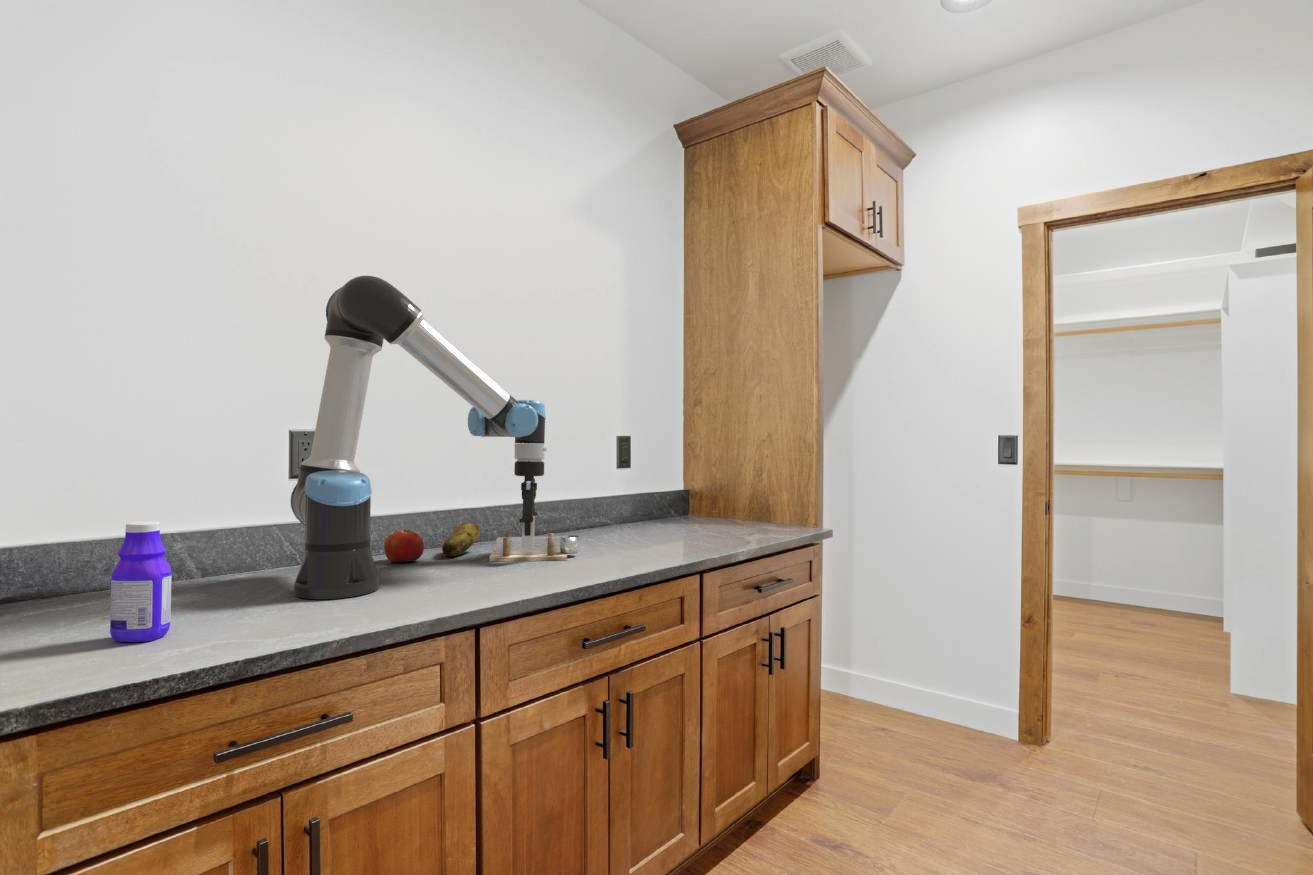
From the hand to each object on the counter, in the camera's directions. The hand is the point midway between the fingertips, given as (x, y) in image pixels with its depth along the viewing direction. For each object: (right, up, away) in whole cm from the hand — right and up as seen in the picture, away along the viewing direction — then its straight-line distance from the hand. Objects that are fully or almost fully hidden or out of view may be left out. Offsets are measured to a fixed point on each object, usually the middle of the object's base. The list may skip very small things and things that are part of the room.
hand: (528, 544), depth 170 cm
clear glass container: (+2, -2, 0) cm, 3 cm away
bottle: (-44, -3, -71) cm, 84 cm away
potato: (-18, -3, +3) cm, 19 cm away
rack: (0, -3, 0) cm, 3 cm away
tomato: (-29, -3, -8) cm, 30 cm away
